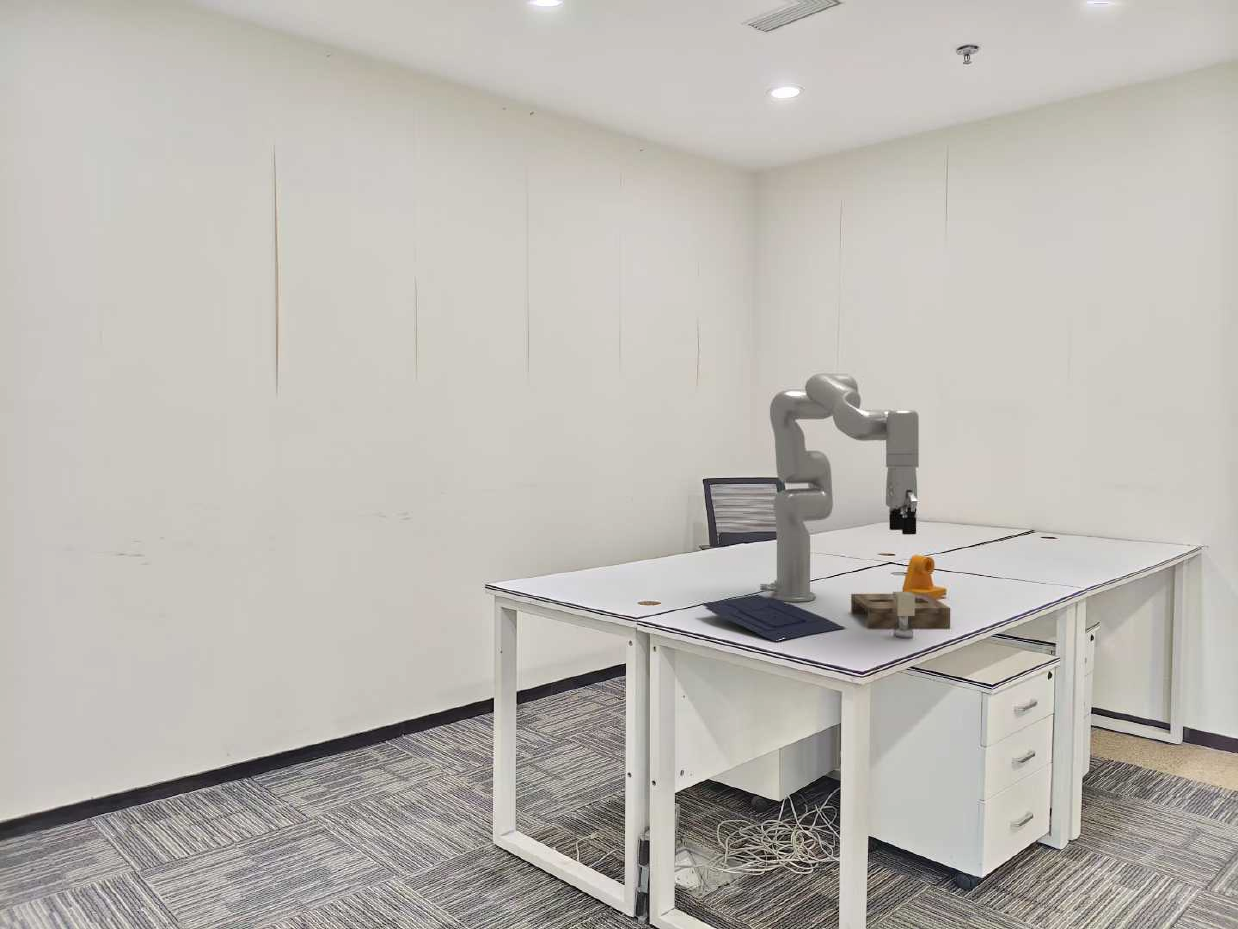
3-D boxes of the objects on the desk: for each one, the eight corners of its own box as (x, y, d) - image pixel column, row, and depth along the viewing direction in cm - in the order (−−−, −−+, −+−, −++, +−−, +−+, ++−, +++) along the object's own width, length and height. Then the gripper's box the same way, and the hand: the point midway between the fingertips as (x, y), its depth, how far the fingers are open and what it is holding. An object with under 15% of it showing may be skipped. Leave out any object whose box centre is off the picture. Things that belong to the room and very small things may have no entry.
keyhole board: (869, 628, 221) (869, 608, 221) (851, 612, 239) (851, 593, 239) (950, 628, 221) (950, 608, 221) (925, 612, 239) (926, 593, 239)
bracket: (922, 602, 252) (923, 560, 252) (902, 597, 258) (902, 556, 258) (947, 598, 258) (948, 556, 257) (927, 593, 264) (927, 553, 263)
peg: (896, 638, 211) (897, 595, 211) (891, 634, 216) (891, 591, 215) (915, 638, 211) (916, 595, 211) (909, 634, 216) (910, 591, 215)
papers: (762, 603, 246) (763, 590, 246) (845, 638, 222) (847, 624, 221) (693, 614, 233) (694, 601, 232) (774, 653, 208) (775, 638, 208)
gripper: (876, 460, 224) (876, 528, 225) (898, 462, 207) (898, 536, 208) (906, 460, 224) (906, 528, 225) (930, 462, 207) (930, 536, 208)
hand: (902, 532), depth 216 cm, fingers open, 9 cm apart
